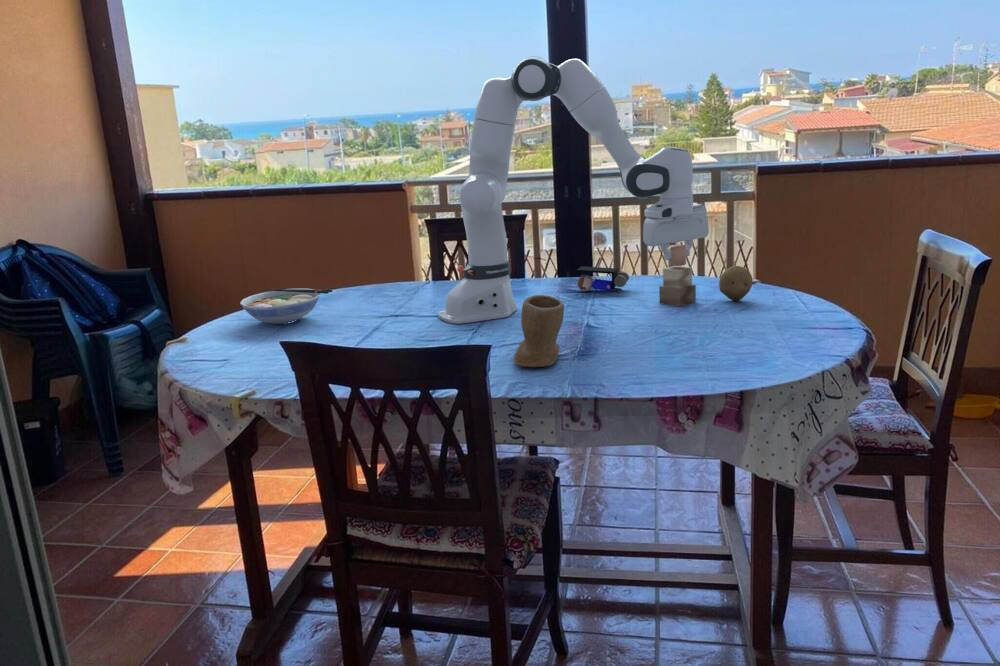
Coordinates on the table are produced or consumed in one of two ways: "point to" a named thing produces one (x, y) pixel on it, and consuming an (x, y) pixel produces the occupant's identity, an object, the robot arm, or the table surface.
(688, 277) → the tower top
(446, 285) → the table surface
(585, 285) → the toy car
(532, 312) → the stone cup
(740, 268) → the natural sponge
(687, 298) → the tower base
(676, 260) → the tan rounded cylinder
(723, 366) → the table surface
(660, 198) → the robot arm
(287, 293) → the ramen bowl
